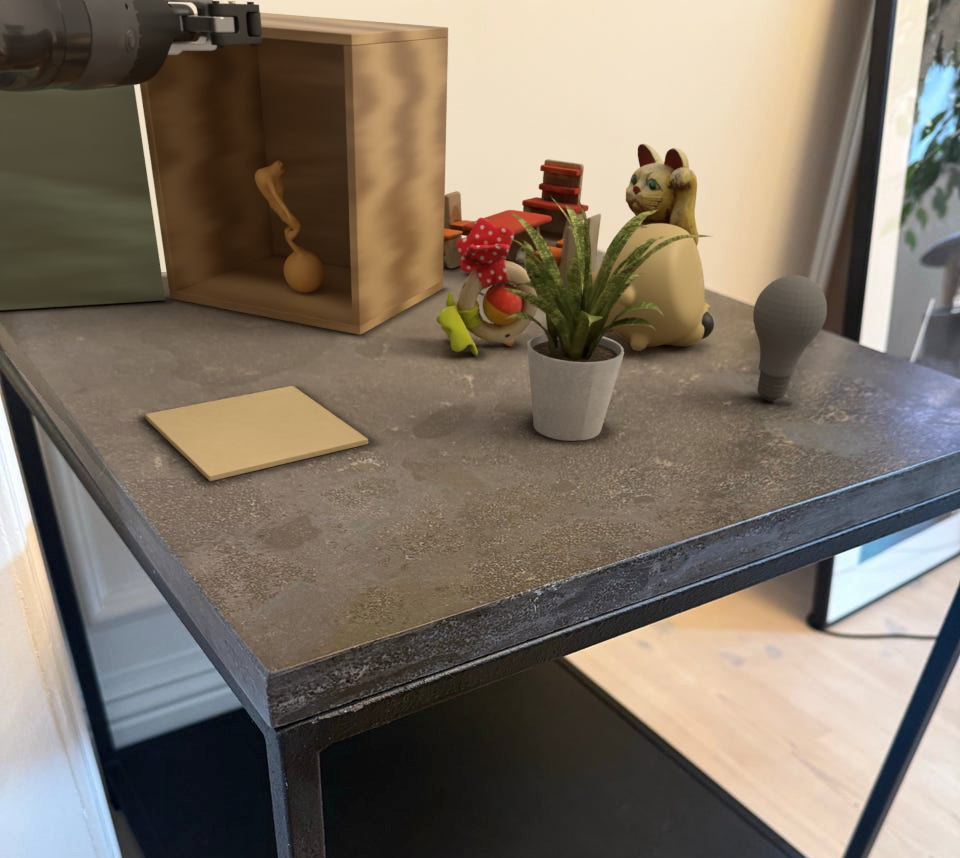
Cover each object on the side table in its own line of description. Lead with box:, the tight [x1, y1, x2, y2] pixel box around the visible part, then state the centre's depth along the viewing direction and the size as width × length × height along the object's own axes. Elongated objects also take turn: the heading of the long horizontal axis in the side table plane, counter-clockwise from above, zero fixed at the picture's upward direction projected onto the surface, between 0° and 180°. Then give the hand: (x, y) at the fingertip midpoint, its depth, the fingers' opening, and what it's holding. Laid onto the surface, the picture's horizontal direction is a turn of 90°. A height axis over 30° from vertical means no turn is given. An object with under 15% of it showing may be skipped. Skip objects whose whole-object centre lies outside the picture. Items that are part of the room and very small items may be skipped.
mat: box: [144, 385, 369, 482], centre depth 69 cm, size 12×12×1 cm
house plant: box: [499, 198, 713, 442], centre depth 68 cm, size 14×14×16 cm
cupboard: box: [139, 12, 449, 336], centre depth 91 cm, size 18×22×24 cm
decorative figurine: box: [625, 143, 699, 247], centre depth 97 cm, size 10×8×15 cm
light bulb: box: [752, 274, 828, 402], centre depth 76 cm, size 6×6×10 cm
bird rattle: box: [436, 217, 538, 357], centre depth 84 cm, size 6×11×9 cm
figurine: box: [255, 161, 324, 293], centre depth 92 cm, size 8×6×12 cm
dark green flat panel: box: [0, 85, 166, 311], centre depth 85 cm, size 7×22×23 cm, turn 112°
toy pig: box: [592, 223, 715, 352], centre depth 87 cm, size 10×12×11 cm
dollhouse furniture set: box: [443, 158, 602, 292], centre depth 109 cm, size 19×19×10 cm
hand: (204, 20), depth 74 cm, fingers open, 8 cm apart
